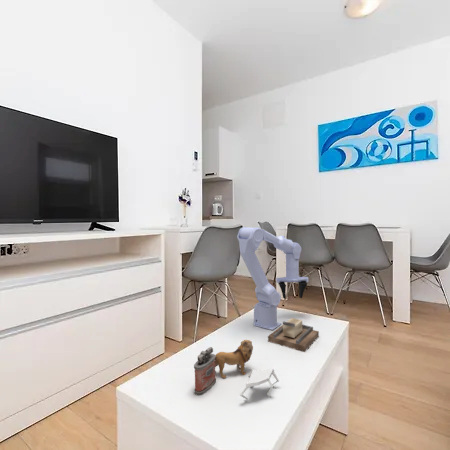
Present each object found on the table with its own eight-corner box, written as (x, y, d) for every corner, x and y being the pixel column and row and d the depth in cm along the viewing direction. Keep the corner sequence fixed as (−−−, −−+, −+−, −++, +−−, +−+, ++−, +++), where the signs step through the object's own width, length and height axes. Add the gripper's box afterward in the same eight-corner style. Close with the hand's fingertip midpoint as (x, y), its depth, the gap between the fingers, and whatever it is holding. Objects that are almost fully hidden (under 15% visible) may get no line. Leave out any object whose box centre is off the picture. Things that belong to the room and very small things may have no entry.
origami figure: (253, 377, 80) (253, 361, 80) (280, 388, 75) (280, 370, 75) (231, 401, 70) (231, 382, 70) (260, 414, 65) (260, 393, 65)
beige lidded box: (282, 336, 102) (282, 321, 102) (291, 329, 108) (291, 315, 108) (294, 339, 99) (294, 324, 99) (302, 332, 106) (302, 317, 106)
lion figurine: (248, 363, 87) (248, 335, 87) (256, 372, 83) (256, 342, 82) (204, 374, 82) (204, 344, 82) (211, 384, 77) (210, 352, 77)
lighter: (201, 397, 71) (201, 359, 71) (191, 392, 73) (190, 355, 73) (218, 381, 78) (218, 346, 78) (209, 377, 80) (208, 343, 80)
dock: (268, 341, 103) (268, 332, 103) (285, 328, 115) (285, 320, 115) (304, 351, 94) (304, 342, 94) (318, 336, 106) (318, 328, 106)
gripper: (278, 270, 121) (279, 300, 121) (311, 269, 122) (311, 299, 122) (275, 267, 128) (275, 296, 128) (305, 266, 129) (305, 295, 129)
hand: (292, 297), depth 126 cm, fingers open, 7 cm apart
